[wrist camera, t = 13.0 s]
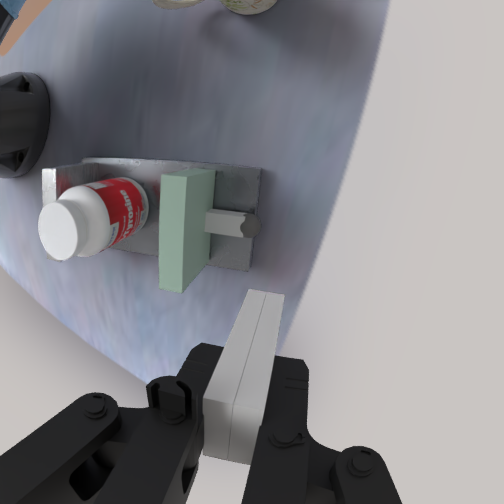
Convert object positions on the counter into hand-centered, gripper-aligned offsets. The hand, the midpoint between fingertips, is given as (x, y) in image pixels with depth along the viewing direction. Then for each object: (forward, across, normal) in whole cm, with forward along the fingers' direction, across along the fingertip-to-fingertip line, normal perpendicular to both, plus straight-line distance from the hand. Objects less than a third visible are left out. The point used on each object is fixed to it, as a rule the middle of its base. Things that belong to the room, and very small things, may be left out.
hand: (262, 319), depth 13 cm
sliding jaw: (+17, -6, 0) cm, 17 cm away
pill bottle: (+17, -17, 0) cm, 24 cm away
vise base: (+18, -13, 0) cm, 22 cm away
